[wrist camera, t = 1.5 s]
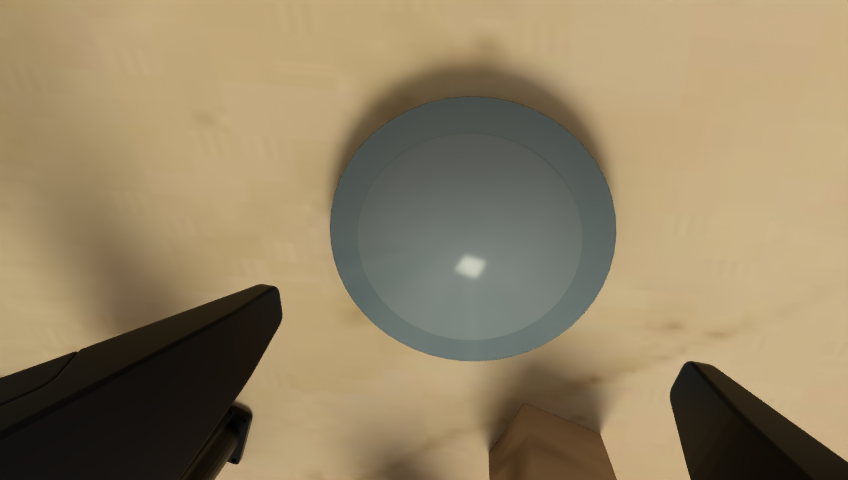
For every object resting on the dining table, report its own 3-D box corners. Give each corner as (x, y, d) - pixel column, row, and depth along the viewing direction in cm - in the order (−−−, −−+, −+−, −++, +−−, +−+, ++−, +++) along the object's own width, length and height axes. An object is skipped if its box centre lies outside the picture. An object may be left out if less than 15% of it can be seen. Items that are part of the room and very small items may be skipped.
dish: (524, 379, 25) (527, 396, 24) (312, 291, 25) (302, 303, 23) (668, 167, 19) (684, 173, 17) (385, 47, 18) (378, 43, 17)
